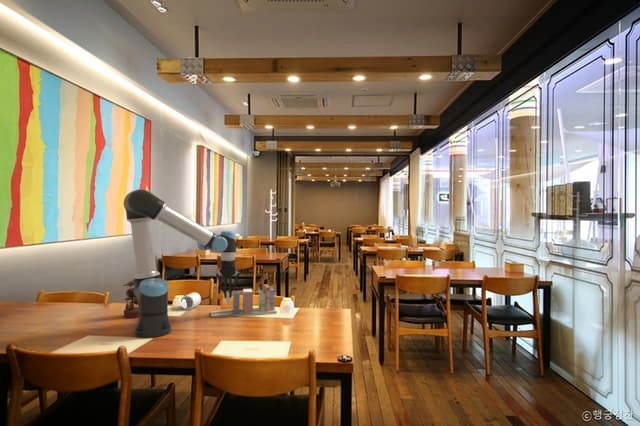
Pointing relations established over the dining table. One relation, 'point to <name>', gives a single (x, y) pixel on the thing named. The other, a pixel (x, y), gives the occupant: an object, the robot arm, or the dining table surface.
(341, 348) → the dining table surface
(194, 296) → the mug
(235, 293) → the bookend
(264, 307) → the rail
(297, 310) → the dining table surface
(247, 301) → the book
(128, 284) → the music box
